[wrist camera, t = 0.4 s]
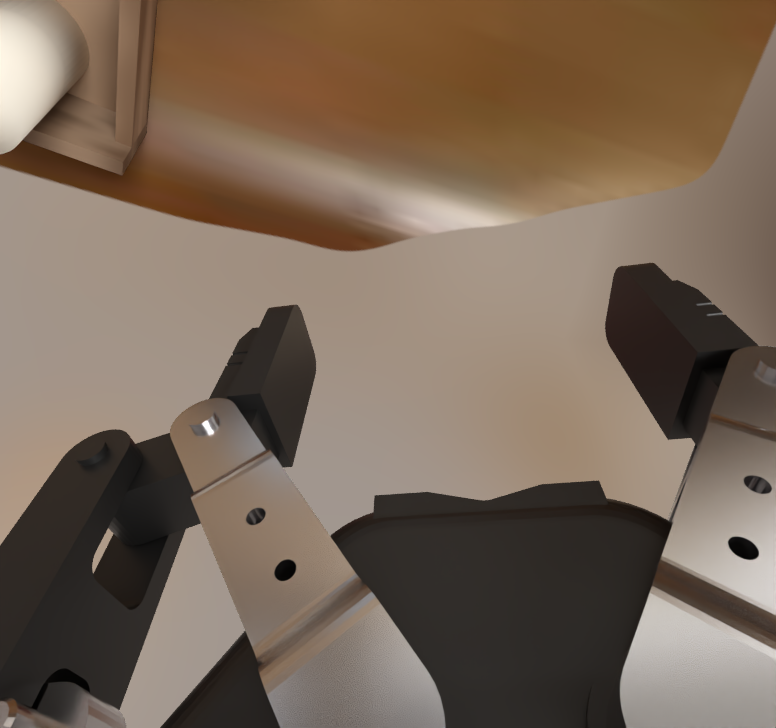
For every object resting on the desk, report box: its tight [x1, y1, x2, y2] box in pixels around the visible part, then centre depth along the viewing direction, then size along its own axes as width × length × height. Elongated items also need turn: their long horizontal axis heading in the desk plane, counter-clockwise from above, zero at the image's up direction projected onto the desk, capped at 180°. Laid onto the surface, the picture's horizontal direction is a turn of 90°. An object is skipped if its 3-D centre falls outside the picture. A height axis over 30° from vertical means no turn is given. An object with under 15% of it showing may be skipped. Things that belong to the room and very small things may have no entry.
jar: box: [0, 0, 89, 154], centre depth 25 cm, size 5×5×10 cm
